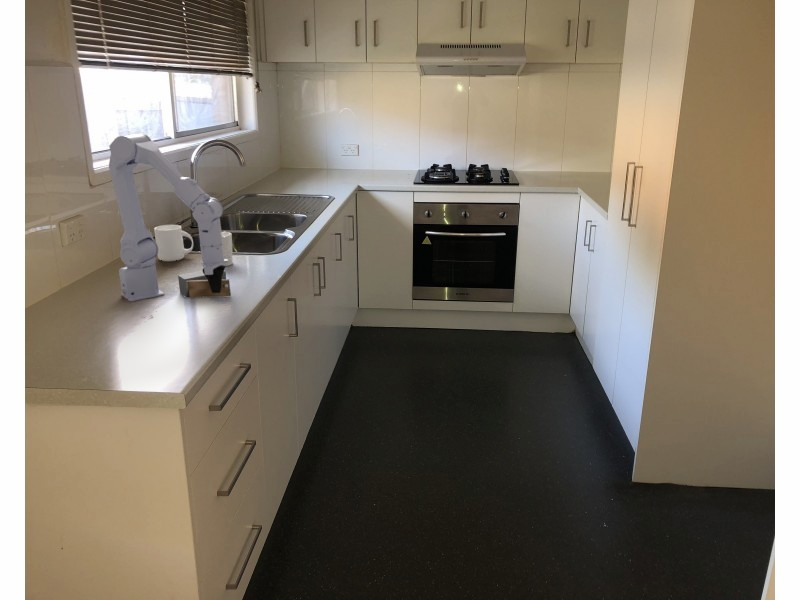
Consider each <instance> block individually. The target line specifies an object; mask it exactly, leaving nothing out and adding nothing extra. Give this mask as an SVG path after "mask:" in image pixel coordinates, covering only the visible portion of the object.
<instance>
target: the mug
mask: <svg viewBox="0 0 800 600" xmlns="http://www.w3.org/2000/svg"><path fill="white" fill-rule="evenodd" d="M153 231H154V237H155V238H154V240H155V242H156V243H157V245H158V248H159V251H158V254H157V258H158V260H160V261H161V260H162V261H161V262H176V260H177V261H180V260H182V259H184V257H185V255H187V254H189V253H191V252H192V251H193V249H194V239H193V237H192V235H191V234H190V233H188V232H186V231H184V230H182V225H178V224H164V225H159V226H156V227H154V230H153ZM183 237H187V238H188V239H189V240H190V241H191V247H190V248H185V247H184V246H185V245H184V239H183Z"/></svg>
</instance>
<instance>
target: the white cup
mask: <svg viewBox="0 0 800 600" xmlns="http://www.w3.org/2000/svg"><path fill="white" fill-rule="evenodd" d="M221 234H222V244H223V255H224V259H228V260H229V262H228V263H224V264H222V265H224V266H225V267H228V266H229V267H230V266H232V265H233V263H234V262H233V236H232V233H231V232H228V231H221Z"/></svg>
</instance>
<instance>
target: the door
mask: <svg viewBox="0 0 800 600" xmlns="http://www.w3.org/2000/svg"><path fill="white" fill-rule="evenodd" d="M185 286H186V294H187V297H186V299H187V298H189V299H190V298H191V299H192V298H219V297H220V298H221V297H222V298H223V297H225V298H226V297H231V296H232V295H231V294H232V293H231V284H230V278H229V279H227V278H226V279H222V283H221V291H220V293H212V291H211V288H210V284H209V282H208V280H189V281H188V280H187V281H185Z"/></svg>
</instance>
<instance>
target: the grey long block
mask: <svg viewBox="0 0 800 600" xmlns="http://www.w3.org/2000/svg"><path fill="white" fill-rule="evenodd" d="M177 278H178V279H177V280H178V286H179V288H178V289H179V294H181V295H182V296H183V297H185V298H187V294H186V286H185V281H187V280H188V281H189V280H208V279H207V278H206V276H205V275H204V273H203V270H198V271H193V272H188V273H182V274H178V275H177ZM222 279H227V273H226V270H224V272H223V276H222Z"/></svg>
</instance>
